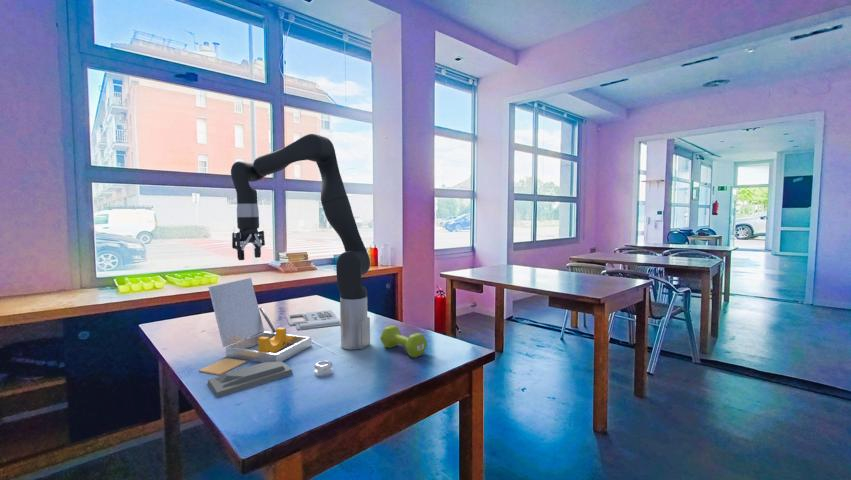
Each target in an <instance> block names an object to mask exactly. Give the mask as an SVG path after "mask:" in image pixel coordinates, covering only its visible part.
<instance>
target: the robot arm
mask: <svg viewBox="0 0 851 480" xmlns="http://www.w3.org/2000/svg"><path fill="white" fill-rule="evenodd" d="M301 161H311V162H315V163H316V165H317V167H318V170H319V174H320V177H321V190H320V203H321V206H322V209H323V212H324V216H325V218H326V220H327V222H328V223H329V225H330V226H331V227H332V228H333V230H334V231H335V232H336V234H337V235H338V237H339V239H340V240H341V242H342V245H343V248H344V252H342V253H340V255H339V256H337V259H336V264H335V265H336V267H335V271H336V285H337V289H338V291H339V300H340V301H339V306H340V307H339V311H340V313H339V316H340V319H339V321H340V322H341V325H340V346H341V348H342V349H345V350H350V351H351V350H353V351H354V350H363V349H365V348H366V347H367V346H369V345H371V319H370V317H369V316H368V289H367V288H366V286H363V283H362V276H363V275H365V274H367V273H368V272H369V270H370V268H371V259H370V256H369V253H368V251H367V248H366V247H365V244H364V241H363V240H362V237H361V234H360V232H359V229H358V226H357V222H356V219H355V215H354V213H353V211H352V210H353V209H352V207H351V206H352V205H351V203H350V200H349V198H348V195H347V192H346V191H347V190H346V188H345V185H344V182H343V178H342V176H341V172H340V170H339V164H338V159H337V154H336V150H335V147H334V144H333V142H332V140H330V139H329V138H328V137H326V136H324V135H320V134H317V133H307V134H305V135H303V136H302V137H300V138H298V139H296V140H295V141H293V142H291V143H290V144H287V145H286V146H283V147H282V148H279V149H278V150H275V151H272V152H269V153H266V154H262V155H260V156H258V157H256V158H255V159H254V161H253V162H247V161H235V162H234V163H233V164H232V166H231V169H230V176H231V179H232V183H233V186H234V190H235V192H236V224H237V229H238V230H239V231H238V232H237V231H235V232H232V233H231V235H232V236H231V241H232V244H231V247H232V249H234V250H236V251H237V253H236V254H237V260H238V261H245V250H244V249H245V247H246V246H247V245H248V244H252V245H253V247H254V249H253V250H254V257H255V258H261V255H262V249H261V248H262V247H263V246H265V245H266V241H265V232H264V230H261V229H260V216H259V215H260V214H259V213H260V212H259V206H258V201H259V200H258V191H257V189H256V188H253V187H252V186H251V185H250V182H251V183H253V182H257V181H260V180H261V179H263V178H266V177H267V176H269V175H272V174H276V173H278V172H281V171H282V170H283V171H284V169H286V168H287V167H288V166H290V165H291V164H293V163H296V162H301ZM258 229H260V230H258Z"/></svg>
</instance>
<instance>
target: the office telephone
mask: <svg viewBox="0 0 851 480" xmlns="http://www.w3.org/2000/svg"><path fill="white" fill-rule="evenodd" d="M285 318H286V321H287V324H288V325H289V327H293V326H295V328H296V330H297V331H303V330H311V329H312V330H313V329H322V328H323V329H324V328H328V327H329V328H330V327H337V326H340V327H341V321H340V319H339V318H338V317H337V316H336V315H335V313H334V312H333V310H330V309H329V310H320V311H313V312H311V311H310V312H305V313H298V314H287V315H286V317H285ZM296 318H303V319H305V320H303V321H301V320H300V321H294V322H293V321H292V319H296Z"/></svg>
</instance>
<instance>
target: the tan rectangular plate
mask: <svg viewBox="0 0 851 480" xmlns="http://www.w3.org/2000/svg"><path fill="white" fill-rule="evenodd" d="M246 363H247V360H243V359H237V358H231V357H225V358H222V359H221V360H219V361H217V362H214V363H212V364H210V365H206V366H205V367H203V368H201V369H199V370H198V372H200V373H201V372H202V373H205V374H211V375H217V376H220V375H222V374H224V373H227V372H231V371H233V370H235V369H236V368H238V367H240V366H242V365H244V364H246Z"/></svg>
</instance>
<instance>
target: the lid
mask: <svg viewBox="0 0 851 480" xmlns="http://www.w3.org/2000/svg"><path fill="white" fill-rule="evenodd" d="M207 288H208V291H209V294H210V295H209V296H210V299H211V303H212V308H213V312H214V316H215V320H216V324H217V328H218V332H219V336H220V340H221V344H222V347H223V348H226V347H228V346H230V345H233V344H235V343H238V342H240V341H243V340H245V339H248V338H250V337H252V336H255V335H257V334H260V333H262V332H263V331H264V330H265V328H264V324H263V321H262V317H261V311H260V309H259V308H260V307H259V304H258V301H257V297H256V292H255V289H254V284H253V280H252V277H248V278H244V279H239V280H235V281H230V282H225V283H222V284H217V285H213V286H209V287H207ZM264 332H265V331H264Z"/></svg>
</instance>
